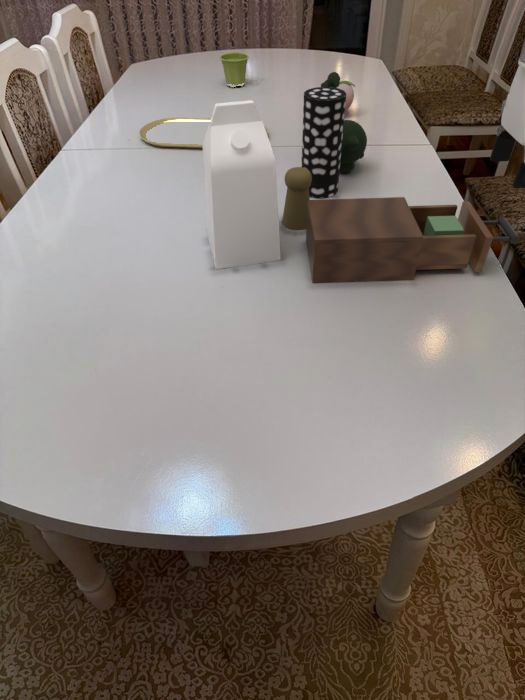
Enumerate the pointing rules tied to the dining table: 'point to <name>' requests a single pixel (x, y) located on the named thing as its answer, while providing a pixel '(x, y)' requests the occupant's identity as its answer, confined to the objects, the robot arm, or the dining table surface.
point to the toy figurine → (348, 134)
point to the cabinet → (362, 240)
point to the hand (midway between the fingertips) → (510, 173)
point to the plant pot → (234, 67)
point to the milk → (240, 187)
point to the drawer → (458, 238)
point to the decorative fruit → (347, 92)
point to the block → (442, 226)
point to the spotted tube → (323, 138)
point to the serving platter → (170, 120)
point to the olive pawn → (296, 198)
